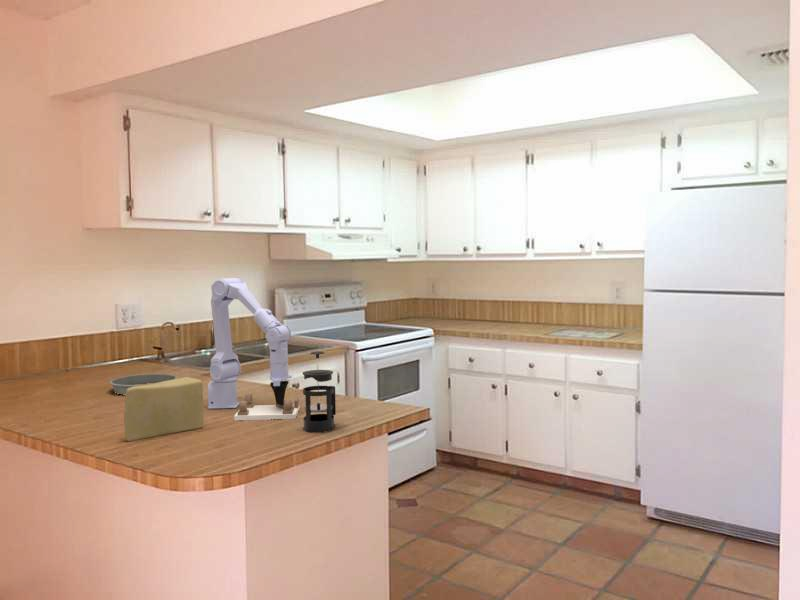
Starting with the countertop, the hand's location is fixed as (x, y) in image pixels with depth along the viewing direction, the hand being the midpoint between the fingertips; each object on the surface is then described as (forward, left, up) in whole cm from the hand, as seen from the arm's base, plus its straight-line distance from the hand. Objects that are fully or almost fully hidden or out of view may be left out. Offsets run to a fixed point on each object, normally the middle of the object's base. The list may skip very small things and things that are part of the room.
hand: (280, 403), depth 215 cm
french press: (+14, -20, -3) cm, 25 cm away
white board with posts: (-4, -2, -3) cm, 5 cm away
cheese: (-31, -21, -3) cm, 38 cm away
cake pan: (-58, +44, -3) cm, 72 cm away
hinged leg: (+2, 0, -1) cm, 2 cm away
